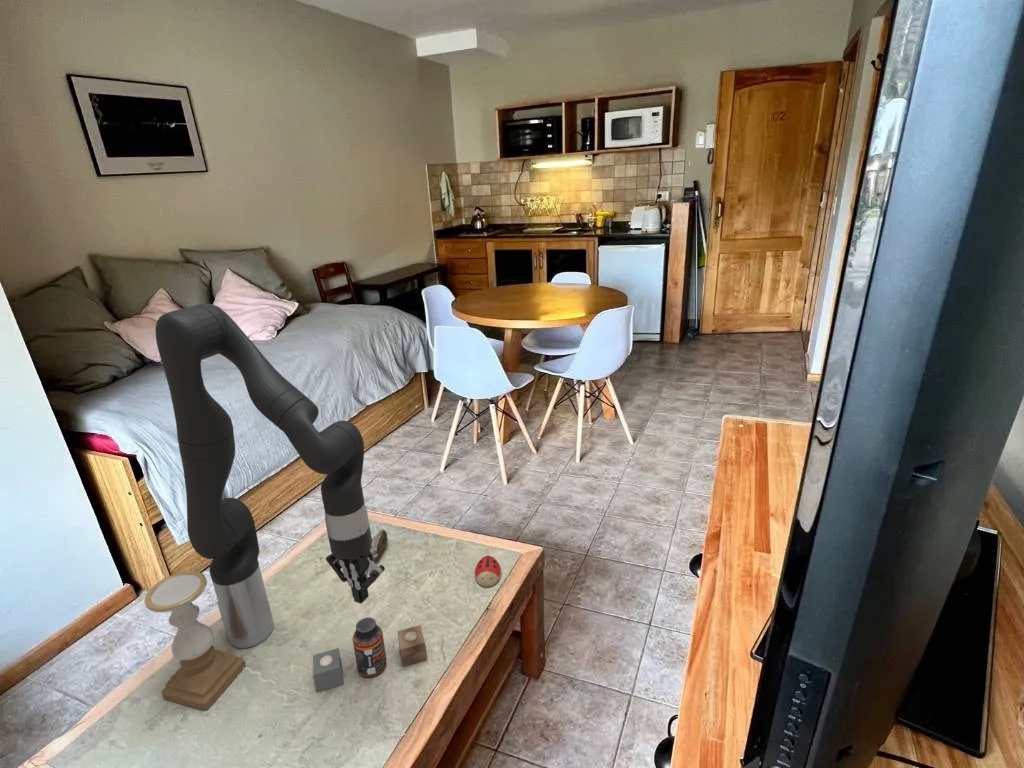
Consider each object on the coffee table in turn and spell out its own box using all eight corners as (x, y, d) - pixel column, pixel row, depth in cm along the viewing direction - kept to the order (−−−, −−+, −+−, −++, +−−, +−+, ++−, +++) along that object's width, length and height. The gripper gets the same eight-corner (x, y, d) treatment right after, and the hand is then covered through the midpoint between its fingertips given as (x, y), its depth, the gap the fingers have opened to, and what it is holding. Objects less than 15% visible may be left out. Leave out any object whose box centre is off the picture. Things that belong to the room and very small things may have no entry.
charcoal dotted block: (317, 693, 107) (313, 674, 105) (317, 673, 112) (312, 654, 110) (343, 685, 109) (339, 666, 107) (342, 665, 113) (338, 647, 111)
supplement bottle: (379, 680, 109) (372, 638, 105) (352, 676, 111) (344, 634, 107) (391, 656, 115) (385, 615, 111) (365, 652, 116) (358, 611, 112)
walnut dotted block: (403, 667, 112) (400, 648, 110) (399, 649, 117) (397, 630, 115) (427, 660, 114) (424, 641, 112) (422, 642, 118) (420, 624, 116)
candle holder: (247, 664, 114) (221, 573, 105) (207, 711, 104) (175, 615, 96) (204, 654, 117) (176, 565, 108) (162, 699, 107) (126, 604, 98)
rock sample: (353, 531, 150) (370, 520, 145) (377, 540, 153) (394, 529, 148) (344, 567, 143) (361, 556, 138) (370, 576, 146) (387, 566, 141)
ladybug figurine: (474, 589, 133) (473, 578, 132) (475, 562, 142) (474, 551, 141) (501, 587, 133) (501, 576, 132) (500, 561, 142) (500, 550, 141)
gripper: (306, 529, 100) (322, 603, 106) (362, 547, 94) (375, 623, 100) (335, 507, 106) (348, 578, 112) (389, 523, 100) (400, 596, 107)
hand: (361, 599), depth 106 cm, fingers closed
